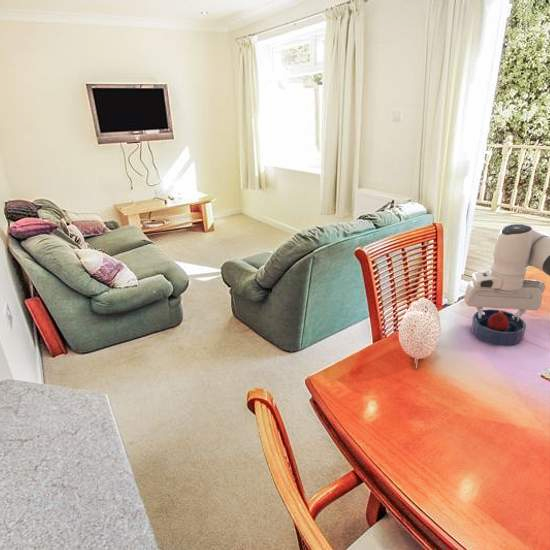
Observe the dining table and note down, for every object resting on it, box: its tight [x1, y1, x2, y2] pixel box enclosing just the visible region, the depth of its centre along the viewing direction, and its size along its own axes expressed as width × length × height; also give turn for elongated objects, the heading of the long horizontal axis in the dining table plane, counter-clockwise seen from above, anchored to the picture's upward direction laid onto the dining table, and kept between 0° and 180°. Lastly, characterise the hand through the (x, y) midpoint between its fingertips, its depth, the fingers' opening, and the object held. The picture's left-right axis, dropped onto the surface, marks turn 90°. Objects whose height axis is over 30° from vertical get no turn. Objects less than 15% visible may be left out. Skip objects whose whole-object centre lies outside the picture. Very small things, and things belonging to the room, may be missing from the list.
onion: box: [488, 310, 509, 332], centre depth 117 cm, size 6×6×8 cm
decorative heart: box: [398, 298, 441, 369], centre depth 107 cm, size 18×11×17 cm, turn 150°
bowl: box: [470, 308, 527, 347], centre depth 117 cm, size 14×14×5 cm
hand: (497, 319), depth 116 cm, fingers open, 8 cm apart
